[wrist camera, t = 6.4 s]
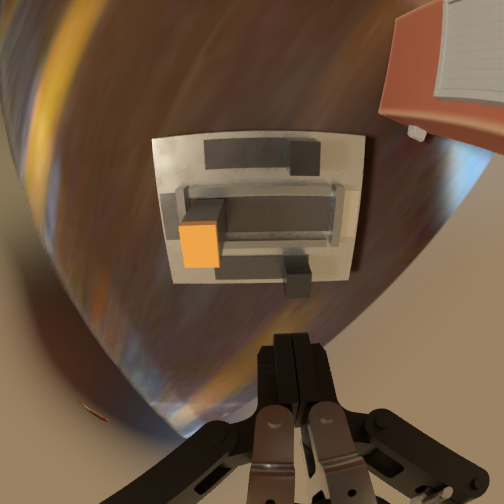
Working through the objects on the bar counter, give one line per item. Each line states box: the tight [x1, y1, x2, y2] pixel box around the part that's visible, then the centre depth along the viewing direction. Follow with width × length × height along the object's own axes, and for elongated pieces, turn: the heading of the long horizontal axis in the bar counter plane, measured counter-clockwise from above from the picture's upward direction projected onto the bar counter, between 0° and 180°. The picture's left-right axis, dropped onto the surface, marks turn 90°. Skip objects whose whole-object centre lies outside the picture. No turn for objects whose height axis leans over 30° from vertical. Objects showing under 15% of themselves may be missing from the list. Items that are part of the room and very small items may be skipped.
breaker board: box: [152, 130, 365, 299], centre depth 26 cm, size 16×20×6 cm
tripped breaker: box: [178, 199, 227, 268], centre depth 23 cm, size 4×3×6 cm
